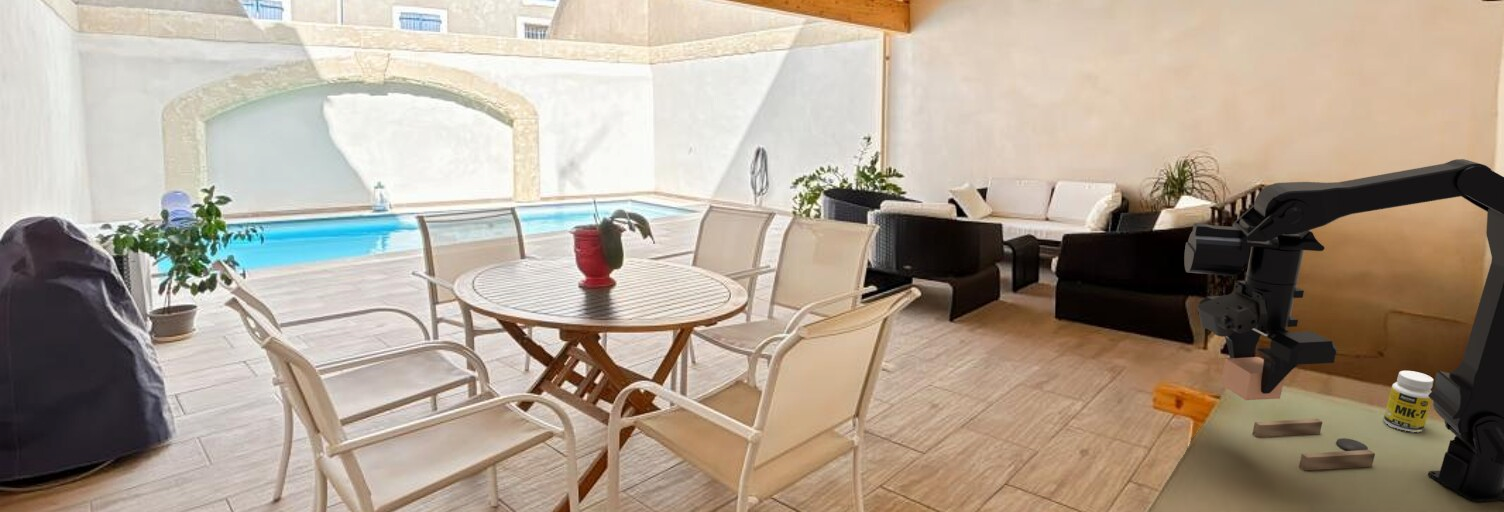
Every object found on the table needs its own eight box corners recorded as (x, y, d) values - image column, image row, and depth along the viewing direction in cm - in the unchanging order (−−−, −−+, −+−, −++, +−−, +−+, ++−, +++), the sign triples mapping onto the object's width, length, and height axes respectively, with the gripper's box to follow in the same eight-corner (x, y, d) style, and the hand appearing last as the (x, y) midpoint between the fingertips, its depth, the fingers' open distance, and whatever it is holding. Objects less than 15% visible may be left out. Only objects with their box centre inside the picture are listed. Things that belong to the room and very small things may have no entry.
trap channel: (1334, 429, 114) (1337, 417, 114) (1394, 465, 105) (1397, 452, 104) (1252, 433, 113) (1254, 422, 113) (1304, 470, 104) (1307, 457, 103)
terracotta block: (1253, 382, 108) (1258, 356, 107) (1280, 398, 103) (1285, 371, 102) (1220, 384, 107) (1225, 358, 106) (1245, 400, 103) (1250, 373, 101)
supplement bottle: (1387, 429, 114) (1399, 378, 112) (1379, 415, 118) (1391, 366, 116) (1427, 436, 112) (1441, 385, 110) (1418, 422, 116) (1431, 372, 114)
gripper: (1171, 260, 109) (1156, 359, 113) (1266, 304, 91) (1244, 419, 95) (1243, 258, 110) (1226, 356, 114) (1351, 300, 92) (1326, 415, 96)
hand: (1251, 384), depth 105 cm, fingers closed on terracotta block, 5 cm apart
